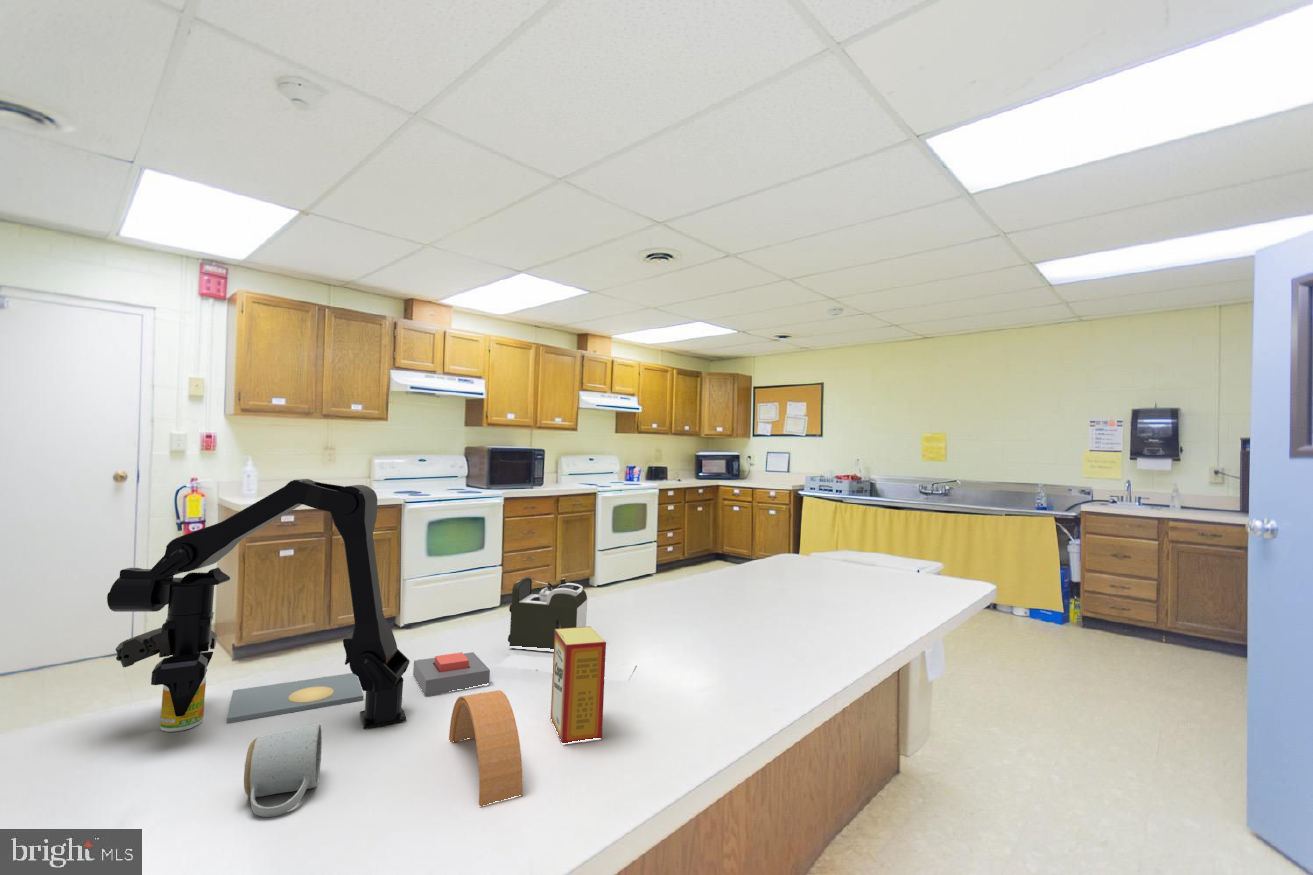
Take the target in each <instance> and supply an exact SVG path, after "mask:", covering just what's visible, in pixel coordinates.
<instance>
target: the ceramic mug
mask: <svg viewBox="0 0 1313 875" xmlns="http://www.w3.org/2000/svg"><path fill="white" fill-rule="evenodd" d="M322 734H323V732H322V724H320V723H314V724H310V725H305V726H301V727H296V728H291V729H286V730H281V731H276V732H270V733H268V734H264V735H262V736H258V737H256V738H255V739H253V740H252V741H251V742H250V744H249V746H248V749H247V751H246V755H245V756H246V758H245V763H244V772H243V773H244V774H243V789H244V792H245V794H246V795H247V796H248V797H250V806H251V807H250V808H251V810H252V811H253V813H254V814H255V815H257V816H259V817H263V818H272V817H278V816H281V815H284V814H286V813H288V812H289V811H292V809H293V808H295V807H296V806H297V805H298V804H299V803H300V802H301V800H302V799H303V796H304V795H305V794H306V791H307V790H310V789H315V788H317V785H318V784H319V779H320V775H321V774H320V773H321V764H322V763H321V762H322V739H323V738H322ZM291 792H296V793H294V795H293V796H292V797H291V798H289V799H287V801H286V802H283V803H282V804H280V805H276V806H271V807H270V806H263V805H262V804H258V802H257V801H256V797H262V798H263V797H266V796H267V797H268V796H271V795H272V796H273V795H276V794H283V793H291Z"/></svg>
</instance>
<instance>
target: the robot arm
mask: <svg viewBox="0 0 1313 875" xmlns="http://www.w3.org/2000/svg"><path fill="white" fill-rule="evenodd" d="M303 505H304V506H307V507H309V508H312V509H316V510H318V511H319V510H320V511H324V512H329V513H330V516H331V519H332V521H333V524H334V527H335V528H336V531H337V532H338V533H339V536H340V537H341V538H342V541H343V544H344V551H345V560H346V567H347V572H348V573H347V574H348V582H349V590H350V597H351V598H350V599H351V603H352V604H351V605H352V612H353V619H354V628H353V630H352V632H350V634H348V635H347V636H346V637H344V638H343V640H342V642H343V643H342V644H343V648H344V652H345V662H344V665H345V666H346V665H348V664H349V668H350V671H351V673H353V674H355V675H357V677H358V680H359V683H360V686H361V689H362V692H365V700H364V702H365V703H364V710H361V711H359V717H360V720H361V724H362V727H363V729H370V728H371V729H372V728H376V727H381V726H385V725H386V726H387V725H391V724H397V723H402V722H406V721H407V715H406V713H405V711H404V708H403V707H402V704H403V689H404V677H403V675H404V674H405V673H406V671H407V669H408V667H409V664H410V663H411V662H410V661H411V660H410V659H409V658H408V657H407V656H405V654H403V653H402V652H401V651H400V649H398V645H397V641H396V638H395V635H394V633H393V629H392V627H391V625H390V624H389V621H387V619H386V617H385V615H384V610H383V603H382V595H381V586H380V580H379V579H380V578H379V573H378V566H377V564H378V563H377V559H376V550H375V549H376V548H375V544H374V543H375V542H374V541H375V540H374V530H375V527H376V526H375V525H376V521H377V517H378V516H377V515H378V495H377V493H376V492H375V489H373V488H371V487H369V486H367V485H364V484H354V485H353V484H352V485H346V486H344V485H339V484H338V485H337V484H332V483H326V482H325V483H324V482H320V481H315V480H313V479H309V478H302V479H301V478H300V479H294V480H293V479H292V480H291V481H289V482H287V483H286V484H285V485H284V486H283V487H281V488H279V489H278V490H275V491H273V492H272V493H270V494H268V495H267V496H265V497H263V498H262V499H260V500H258V501H255V502H254V503H253V504H250V505H249V506H247V507H246V508H244V509H242V510H240V511H238V512H237V513H234V514H233V515H231V516H229V517H227V518H225V519H223V520H222V521H221V522H217V523H215V524H211V525H209V526H205V527H202V528H200V529H197V530H194V531H191V532H189V533H186V534H184V535H180V536H178V537H175V538H173V539H172V540H171V541H169V542H168V543H167V544H166V547H165V552H164V555H163V556H162V557H161V558H160V559H159V560H158V561H157V562H156V563H155V564H154V566H153V567H152V568H140V567H126V568H123V569H121V570H120V571H119V577H118V578H117V579H116V580H115V581H114V582H113V584H112V585H111V587H110V589H109V590H110V591H109V592H107V595H106V602H107V606H108V608H109V610H111V611H112V612H115V613H116V612H117V613H119V612H120V613H121V612H123V613H126V612H127V613H130V612H132V613H133V612H135V613H136V612H139V613H140V612H141V613H143V612H146V613H147V612H148V613H149V612H150V613H151V612H159V611H161V610H163V609H164V608H165V607H166V606H167V617H166V619H165V622H164V623H163V624H162V626H161V627H160V628H159V627H158V628H156V629H151V630H150V631H147V632H144V633H141V634H139V635H136V636H134V637H133V636H132V637H131V638H128V639H125V640H124V641H121V642H120V643H119V644H118V645H117V647H115V651H116V657H115V660H116V661H118V662H120V664H121V665H122V668H128V667H131V666H134V664H135V663H137V662H140V661H142V660H146V659H147V658H151V657H153V656H156V655H157V654H158V658H163V659H161V660H160V661H159V662H158V663H157V664H155V666H154V668H153V670H152V671H151V678H150V679H151V681H150V685H151V686H160V685H165V686H167V687H168V688H169V691H170V695H171V699H172V703H173V707H174V711H175V716H176V717H179V716H184V715H185V713H186V712H187V710H188V708H189V706H190V704H191V702H192V700H193V698H194V696H195V694H196V692H197V690H198V688H199V686H200V684H201V682H202V681H203V679H204V677H206V674H207V672H208V666H209V664H210V662H211V660H212V658H213V654H214V651H209V650H214V649H215V648H216V645H217V636H218V634H217V633H216V632H214V631H213V630H212V623H213V620H214V613H215V612H213V609H214V607H213V606H214V595H215V586H218V585H220V584H224V583H225V582H228V581H231V580H230V579H231V577H230V576H229V575H228V574H227V573H225V572H223V571H222V569H220V567H215V568H212V569H210V570H209V571H207V572H192V571H196V570H199V569H202V568H205V567H208V566H211V565H214V564H216V563H218V562H219V561H220V560H221V559H222V558H224V557H225V556H226V555H228V553H230V552H231V551H232V550H234V548H236V546H237V545H238V544H239V543H240V542H241V541H242V540H244V539H245V538H246V537H248V536H249V535H252V534H254V533H255V532H257V531H259V530H261V529H262V528H264V527H266V526H268V525H269V524H270V523H273V522H274V521H277V520H278V519H279V518H281V517H283V516H285V515H286V514H288V513H290V512H292V511H294V510H296V509H297V508H299V507H300V506H303ZM182 573H187V574H186V575H183V577H175V576H177V575H179V574H182Z"/></svg>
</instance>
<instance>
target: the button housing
mask: <svg viewBox="0 0 1313 875" xmlns="http://www.w3.org/2000/svg"><path fill="white" fill-rule="evenodd" d="M463 654H464V655H465V656H466V657H467V659H468V660H469V668H465V669H459V670H453V671H446V672H440V673H439V672H438V670H437V669H436V667H435V666H434V661H435V657H430V658H424V659H417V660H413V667H412V668H413V669H412V676H413V675H414V676H413V678H414V677H415V678H414V679H416V680H415V681H417V682H418V683H417V682H416V683H417V685H418V684H419V685H418V687H419V686H420V687H419V689H420V688H421V689H422V690H421V689H420V690H421V692H422V694H423V693H424V694H423V696H424V697H425V696H427V697H431V695H433V696H437V695H436V694H438V695H442V694H441V693H444V692H449V691H452V690H457V689H465V688H469V687H473V686H478V685H482V684H487V683H489V684H490V680H491V679H490V678H491V677H490V676H491V670H490V668H488V667H487V665H486V664H485V663H484V662H483V661H482V660H481V658H480V657H478V655H477V654H476V653H474V651H473V652H466V653H463ZM444 694H445V693H444Z"/></svg>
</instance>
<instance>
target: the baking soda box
mask: <svg viewBox="0 0 1313 875" xmlns="http://www.w3.org/2000/svg"><path fill="white" fill-rule="evenodd" d="M606 647H607V642H606V641H605V640H604V639H603V637H602V636H600V634H599V633H598V632H597V631H596V630H595V629H594V628H593V627H592V626H586V627H575V628H560V629H555V635H554V653H553V656H552V657H553V673H552V677H551V678H552V679H551V680H552V682H551V700H550V702H551V703H550V720H551V719H552V722H553V724H554V726H555V728H556V731H557V732H558V735H559V738H560V739H561V742H562V743H568V742H572V741H578V740H579V741H580V740H585V739H593V738H602V739H603V723H604V722H603V721H604V718H603V717H604V698H605V697H604V695H605V693H604V692H605V679H604V677H605V662H606V651H607V650H606V649H607V648H606ZM552 722H551V723H552ZM556 731H555V732H556ZM559 738H558V739H559ZM561 742H560V743H561Z"/></svg>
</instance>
